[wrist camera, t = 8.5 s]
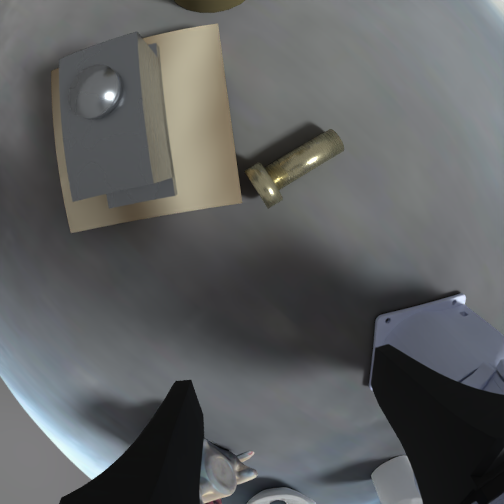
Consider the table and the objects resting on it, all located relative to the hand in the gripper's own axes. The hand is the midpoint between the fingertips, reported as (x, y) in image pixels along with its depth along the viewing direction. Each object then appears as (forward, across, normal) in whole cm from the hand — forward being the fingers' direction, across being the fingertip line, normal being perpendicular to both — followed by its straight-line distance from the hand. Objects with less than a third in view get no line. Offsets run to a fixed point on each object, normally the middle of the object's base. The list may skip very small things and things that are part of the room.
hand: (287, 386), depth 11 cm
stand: (+11, +6, -11) cm, 16 cm away
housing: (+9, +6, -11) cm, 15 cm away
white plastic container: (+10, -14, +31) cm, 36 cm away
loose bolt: (+10, -4, -8) cm, 13 cm away
